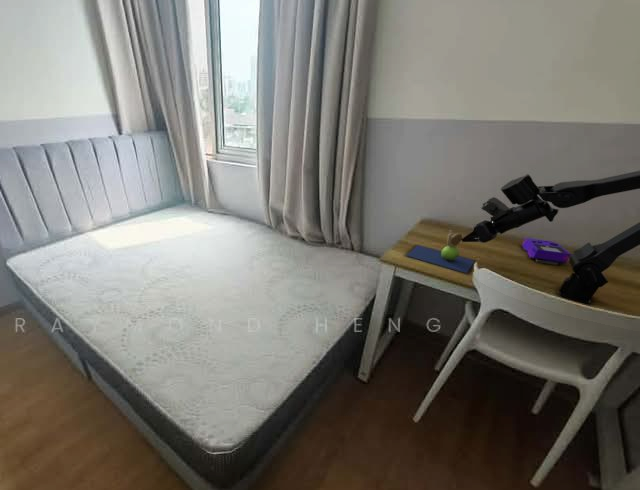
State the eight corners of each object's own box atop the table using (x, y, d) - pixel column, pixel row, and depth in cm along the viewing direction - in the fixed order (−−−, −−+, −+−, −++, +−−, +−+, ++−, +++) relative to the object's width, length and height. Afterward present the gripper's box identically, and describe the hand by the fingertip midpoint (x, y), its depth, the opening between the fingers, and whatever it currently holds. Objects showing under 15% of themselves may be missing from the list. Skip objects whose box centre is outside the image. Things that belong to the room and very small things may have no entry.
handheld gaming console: (555, 240, 118) (572, 252, 106) (549, 253, 120) (564, 266, 108) (525, 236, 121) (537, 248, 109) (519, 249, 124) (531, 261, 112)
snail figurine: (433, 257, 116) (444, 227, 109) (447, 255, 117) (458, 225, 111) (445, 264, 111) (457, 233, 105) (459, 261, 113) (472, 231, 106)
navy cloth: (474, 261, 113) (475, 260, 113) (466, 273, 106) (466, 272, 106) (417, 245, 125) (417, 245, 125) (406, 256, 118) (406, 255, 118)
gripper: (520, 186, 97) (469, 210, 111) (494, 197, 89) (442, 222, 103) (539, 216, 96) (485, 238, 110) (514, 231, 87) (459, 252, 101)
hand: (468, 237), depth 106 cm, fingers open, 9 cm apart
